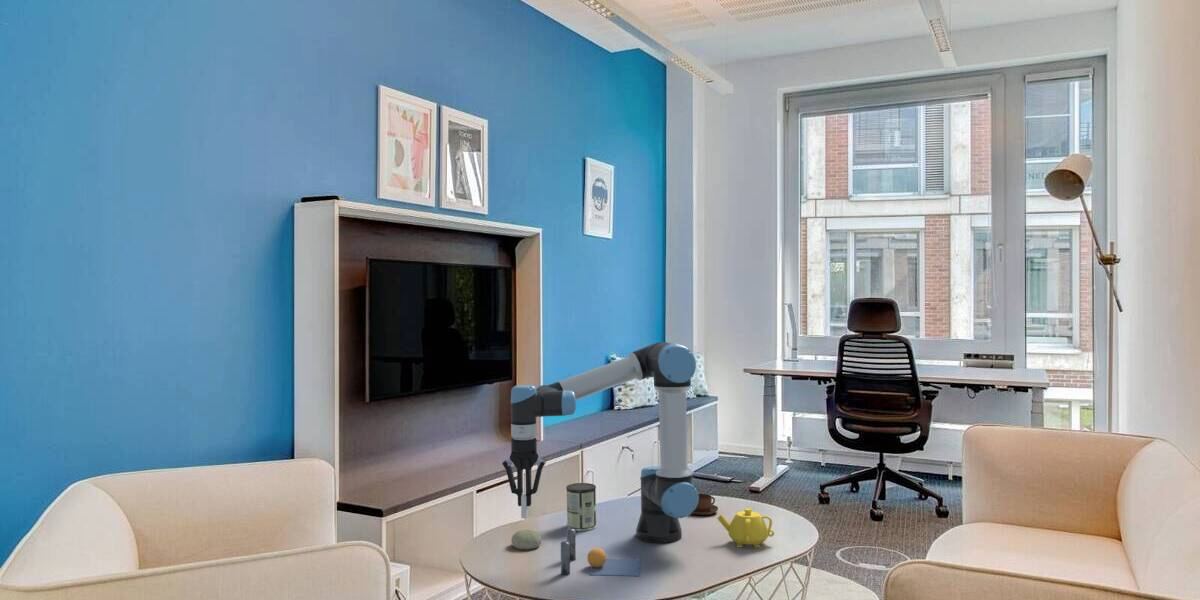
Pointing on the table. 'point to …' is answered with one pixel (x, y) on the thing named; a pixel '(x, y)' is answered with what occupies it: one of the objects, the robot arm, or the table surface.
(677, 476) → the robot arm
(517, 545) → the sea urchin shell
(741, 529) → the teapot
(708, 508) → the cup and saucer
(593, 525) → the coffee can
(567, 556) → the post
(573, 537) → the post
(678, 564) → the table surface
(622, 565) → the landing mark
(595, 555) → the ball
